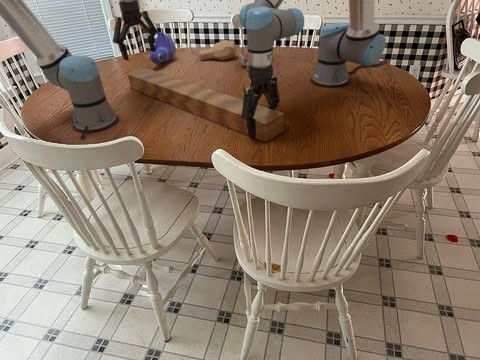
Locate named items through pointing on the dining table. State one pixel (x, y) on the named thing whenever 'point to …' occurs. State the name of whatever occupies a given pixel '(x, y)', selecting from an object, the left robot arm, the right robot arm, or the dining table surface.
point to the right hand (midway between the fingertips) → (261, 130)
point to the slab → (206, 103)
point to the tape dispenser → (244, 60)
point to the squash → (220, 51)
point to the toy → (162, 49)
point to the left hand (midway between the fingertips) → (140, 55)
